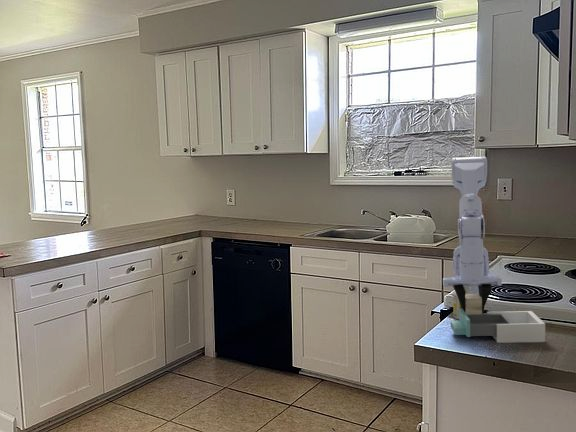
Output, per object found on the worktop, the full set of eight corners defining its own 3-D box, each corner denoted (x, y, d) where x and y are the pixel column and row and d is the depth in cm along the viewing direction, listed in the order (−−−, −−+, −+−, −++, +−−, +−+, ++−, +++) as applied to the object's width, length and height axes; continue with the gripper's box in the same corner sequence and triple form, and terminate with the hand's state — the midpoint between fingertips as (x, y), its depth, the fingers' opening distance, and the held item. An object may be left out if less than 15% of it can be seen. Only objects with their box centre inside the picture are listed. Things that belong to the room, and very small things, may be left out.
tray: (449, 324, 141) (449, 309, 140) (501, 323, 139) (501, 307, 139) (456, 337, 132) (456, 320, 131) (511, 336, 130) (511, 319, 130)
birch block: (463, 315, 145) (462, 294, 145) (478, 315, 145) (478, 293, 144) (466, 320, 142) (465, 298, 141) (482, 320, 141) (481, 298, 140)
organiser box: (487, 328, 140) (486, 311, 140) (531, 327, 139) (531, 311, 138) (497, 342, 130) (497, 324, 130) (545, 342, 129) (545, 323, 128)
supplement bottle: (449, 317, 150) (448, 284, 149) (460, 313, 154) (460, 280, 152) (466, 321, 146) (466, 287, 145) (477, 317, 150) (477, 283, 148)
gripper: (445, 266, 138) (446, 317, 140) (504, 264, 136) (505, 316, 138) (441, 260, 145) (442, 309, 147) (497, 258, 143) (497, 307, 145)
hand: (472, 312), depth 143 cm, fingers closed on birch block, 4 cm apart
